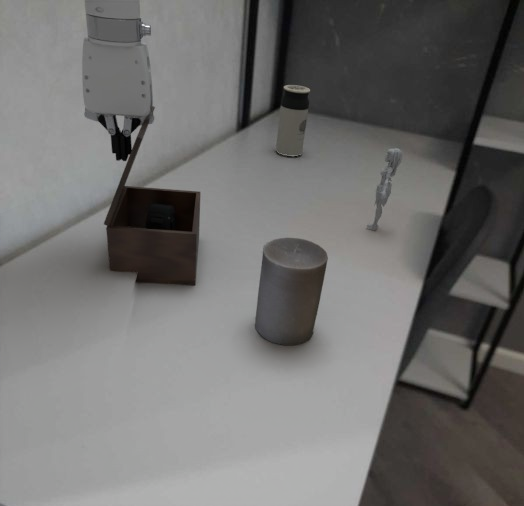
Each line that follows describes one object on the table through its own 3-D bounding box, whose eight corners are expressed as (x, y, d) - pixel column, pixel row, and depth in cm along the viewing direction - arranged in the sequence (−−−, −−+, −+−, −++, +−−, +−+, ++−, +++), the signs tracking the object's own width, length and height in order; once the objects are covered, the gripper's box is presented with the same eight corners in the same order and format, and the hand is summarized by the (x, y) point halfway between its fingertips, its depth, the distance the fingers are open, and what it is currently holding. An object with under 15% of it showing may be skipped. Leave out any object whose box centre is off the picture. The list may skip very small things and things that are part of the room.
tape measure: (155, 235, 104) (154, 196, 99) (176, 238, 104) (177, 199, 99) (135, 271, 92) (133, 229, 87) (160, 274, 92) (159, 232, 87)
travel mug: (270, 151, 157) (277, 85, 146) (288, 147, 161) (296, 83, 150) (288, 159, 152) (297, 92, 141) (307, 155, 157) (316, 90, 146)
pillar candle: (317, 318, 88) (333, 236, 78) (308, 352, 80) (325, 265, 71) (261, 306, 89) (271, 224, 80) (247, 338, 81) (256, 251, 72)
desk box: (199, 238, 106) (200, 191, 100) (195, 285, 92) (196, 234, 86) (126, 233, 105) (123, 185, 99) (110, 280, 90) (106, 228, 84)
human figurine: (370, 217, 124) (389, 139, 113) (386, 220, 123) (406, 143, 112) (362, 237, 115) (382, 154, 104) (379, 241, 114) (401, 158, 103)
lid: (155, 107, 91) (150, 104, 90) (142, 139, 76) (137, 136, 76) (125, 184, 99) (121, 182, 98) (108, 226, 84) (103, 224, 84)
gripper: (168, 32, 79) (169, 154, 90) (66, 21, 78) (80, 147, 89) (164, 40, 73) (165, 169, 85) (54, 28, 72) (71, 162, 83)
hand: (122, 158), depth 87 cm, fingers closed
